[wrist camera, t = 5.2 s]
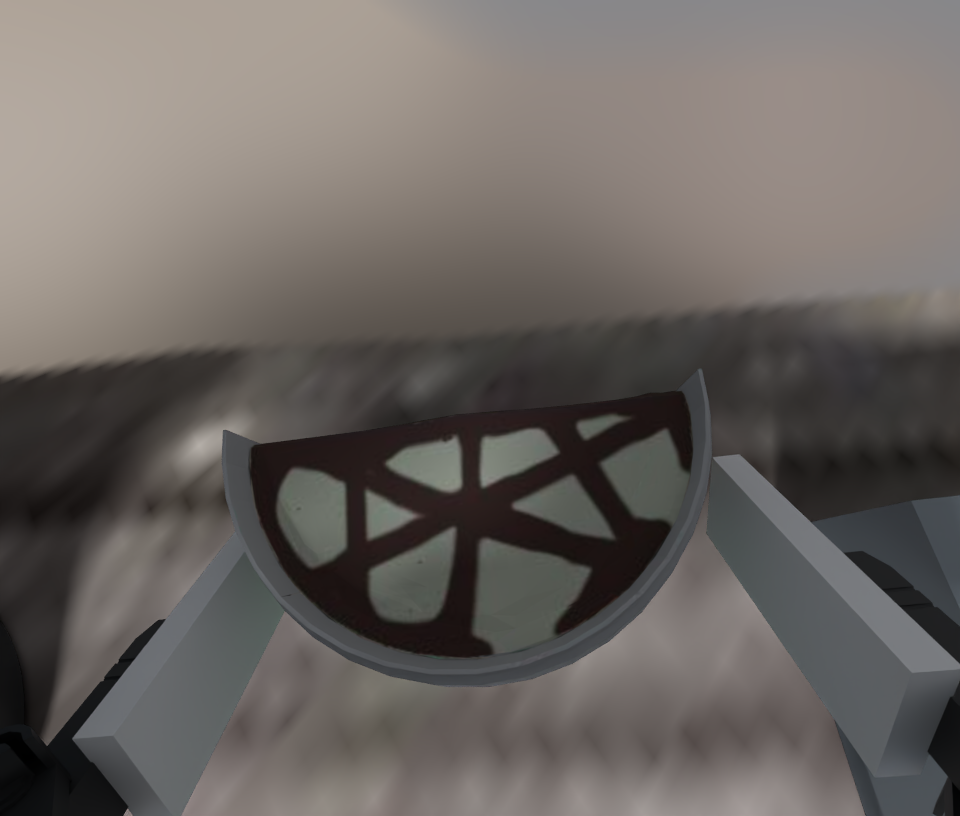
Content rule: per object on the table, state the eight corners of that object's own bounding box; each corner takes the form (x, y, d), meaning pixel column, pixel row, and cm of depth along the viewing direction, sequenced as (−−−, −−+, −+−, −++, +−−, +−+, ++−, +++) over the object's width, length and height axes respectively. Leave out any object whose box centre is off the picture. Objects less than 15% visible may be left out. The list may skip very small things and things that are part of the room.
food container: (352, 656, 18) (158, 737, 9) (353, 501, 20) (201, 432, 11) (667, 627, 17) (831, 682, 8) (632, 469, 19) (725, 364, 10)
